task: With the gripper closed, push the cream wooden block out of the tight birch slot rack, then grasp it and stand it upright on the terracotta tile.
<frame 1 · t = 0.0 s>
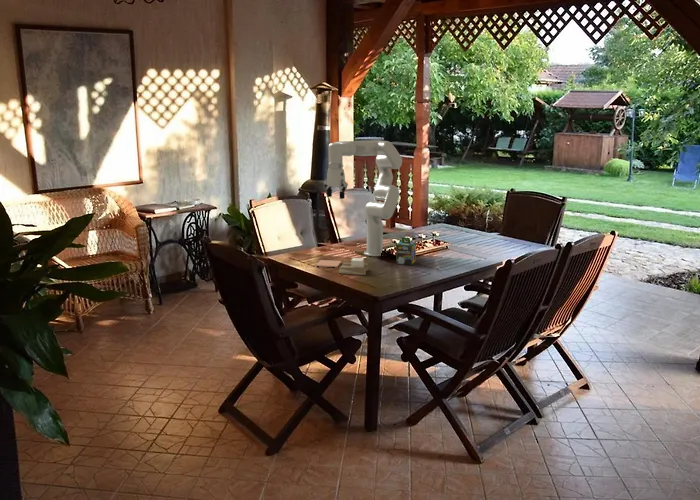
hand: (335, 197, 355), 37 cm above the table, tool pointing down, fingers open, 9 cm apart
slot rack: (353, 271, 347), on the table
chalk box: (405, 263, 366), on the table
cream block: (357, 272, 347), on the table
terracotta tile: (328, 264, 362), on the table
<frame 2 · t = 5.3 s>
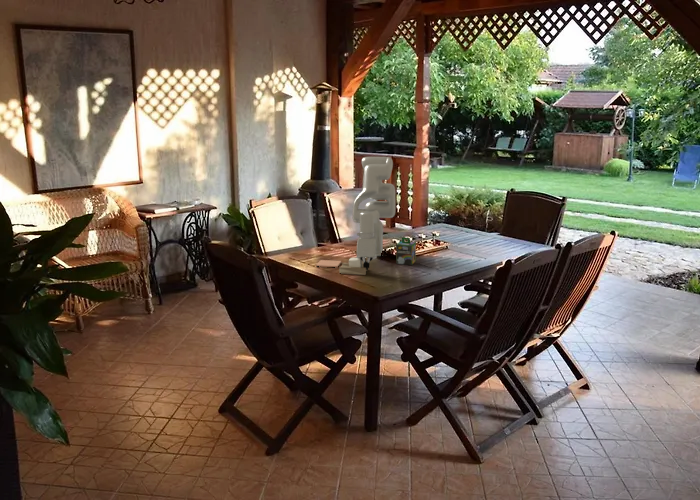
hand: (366, 269, 345), 2 cm above the table, tool pointing down, fingers closed
cream block: (356, 271, 347), on the table, tilted 5°, touching gripper
everything else where it was.
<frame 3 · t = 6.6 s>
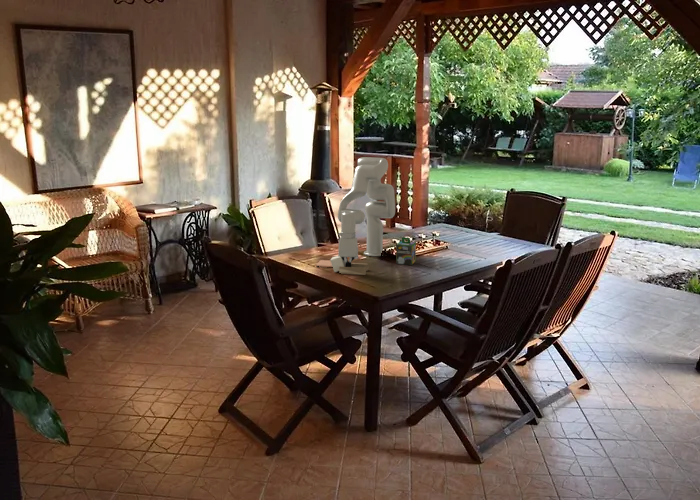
hand: (348, 269, 347), 1 cm above the table, tool pointing down, fingers closed
cream block: (340, 269, 348), point 1 cm above the table, tilted 19°, touching gripper
everything else where it was.
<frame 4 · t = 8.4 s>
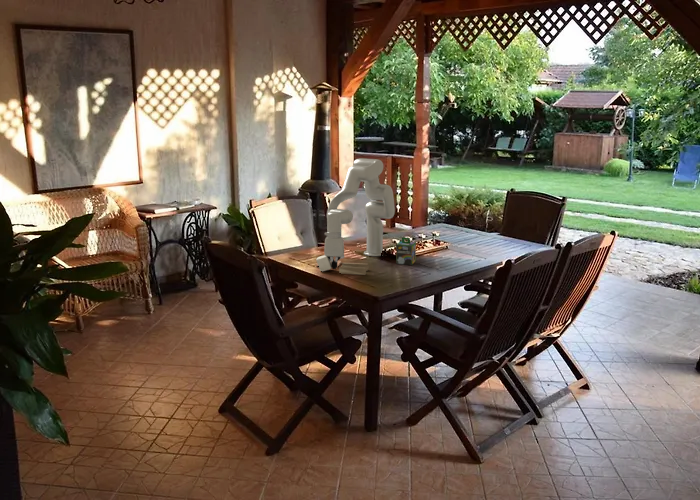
hand: (334, 268, 348), 1 cm above the table, tool pointing down, fingers closed
cream block: (326, 268, 349), point 1 cm above the table, tilted 19°, touching gripper
everything else where it was.
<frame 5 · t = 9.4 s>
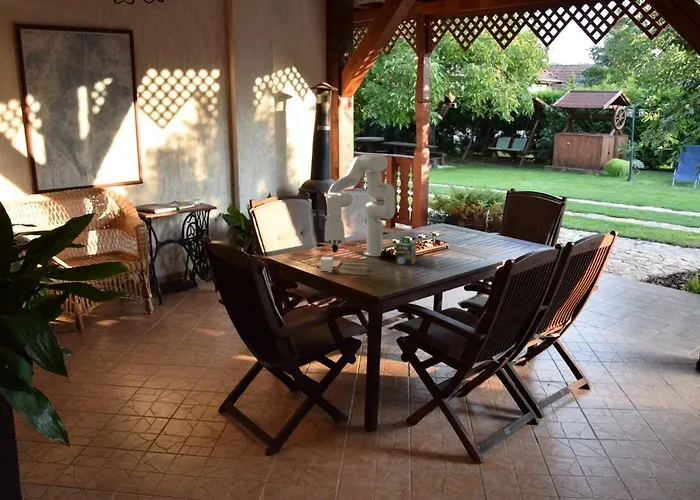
hand: (335, 252, 347), 10 cm above the table, tool pointing down, fingers closed
cream block: (326, 270, 349), on the table
everything else where it was.
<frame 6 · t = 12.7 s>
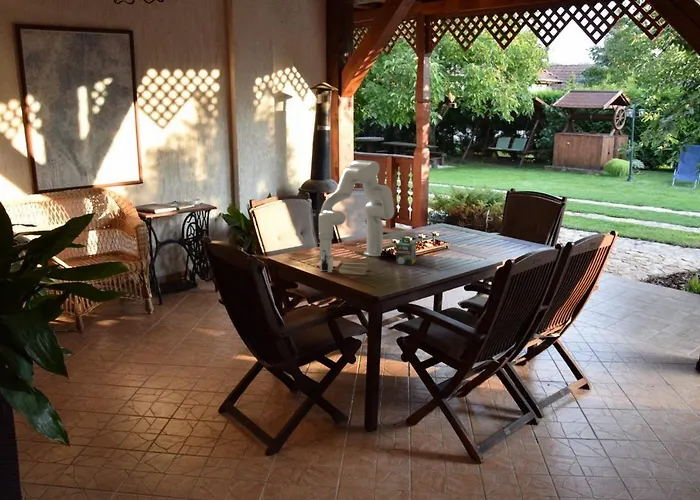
hand: (326, 268, 349), 1 cm above the table, tool pointing down, fingers closed on cream block, 6 cm apart
cream block: (326, 270, 349), on the table, touching gripper
everything else where it was.
when the fingers open (4 cm above the table, at t = 18.3 s): cream block drops 1 cm, resting on terracotta tile.
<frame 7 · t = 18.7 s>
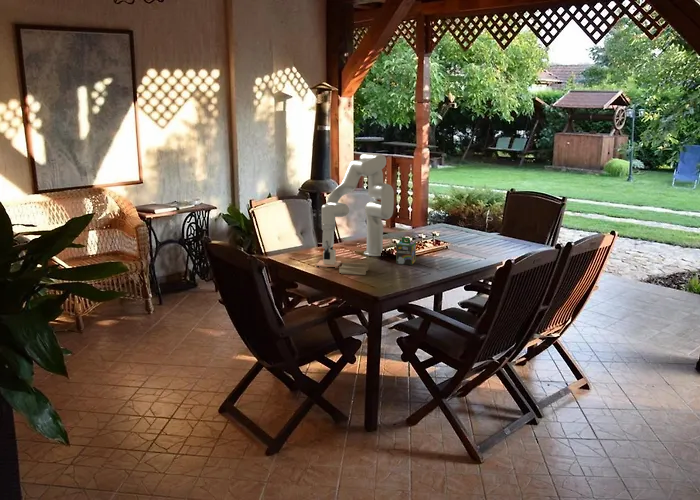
hand: (328, 257, 361), 4 cm above the table, tool pointing down, fingers open, 9 cm apart
cream block: (329, 263, 361), point 1 cm above the table, touching terracotta tile
everything else where it was.
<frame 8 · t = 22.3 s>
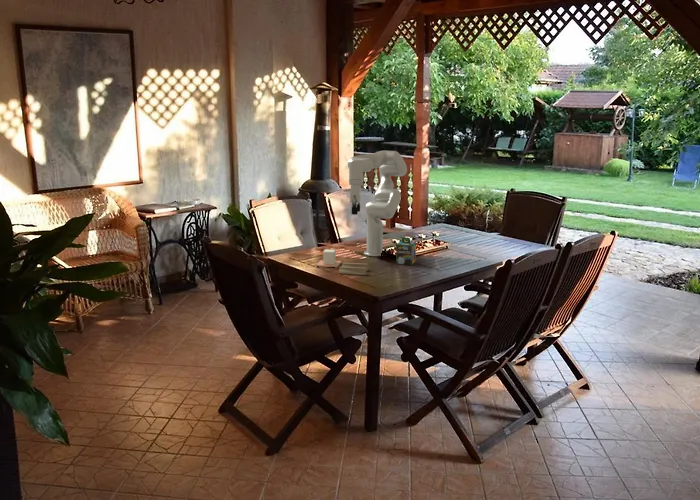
hand: (355, 212, 360), 28 cm above the table, tool pointing down, fingers open, 9 cm apart
nothing on the table moved.
at the end: cream block 0.4 cm off-centre on the terracotta tile, point 1.0 cm above the terracotta tile's base; cream block tilted 0°; the gripper is holding nothing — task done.
